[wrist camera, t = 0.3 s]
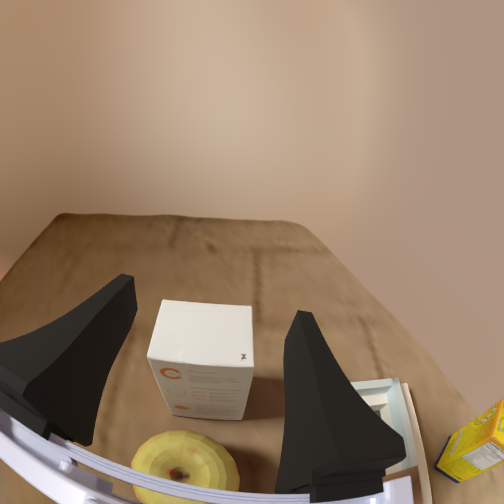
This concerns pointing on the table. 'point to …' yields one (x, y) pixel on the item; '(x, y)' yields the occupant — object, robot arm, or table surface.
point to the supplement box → (474, 446)
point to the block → (414, 479)
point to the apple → (184, 464)
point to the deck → (398, 423)
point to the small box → (203, 358)
